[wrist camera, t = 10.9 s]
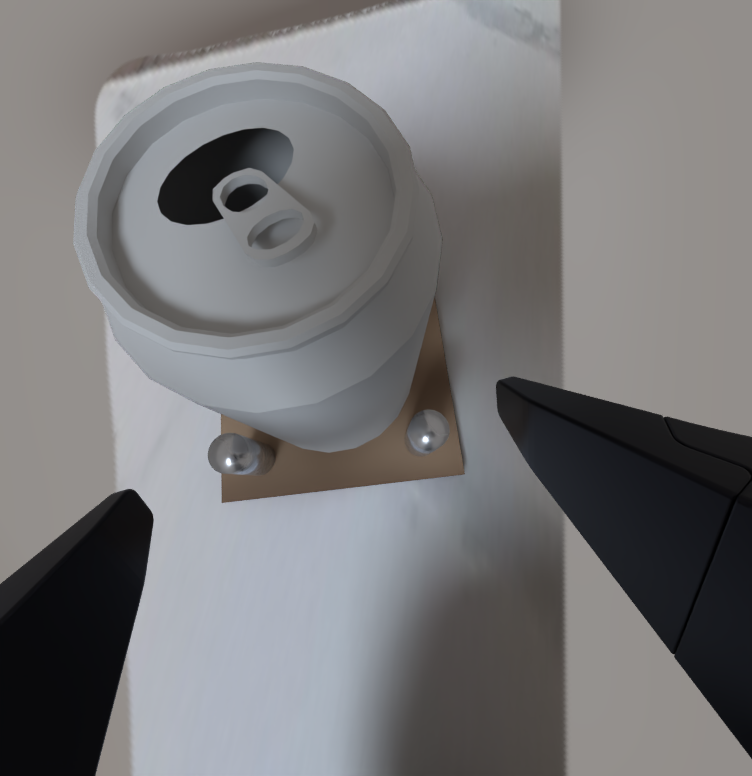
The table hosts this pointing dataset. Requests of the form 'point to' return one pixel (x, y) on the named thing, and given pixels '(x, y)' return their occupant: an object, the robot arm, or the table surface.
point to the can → (265, 250)
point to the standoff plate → (353, 466)
